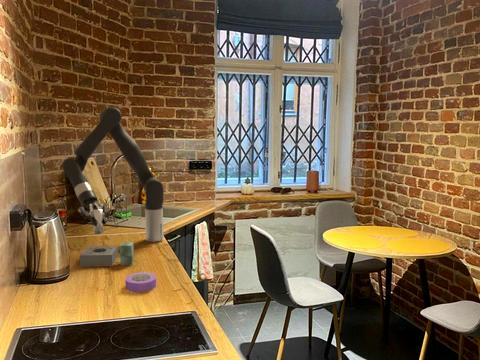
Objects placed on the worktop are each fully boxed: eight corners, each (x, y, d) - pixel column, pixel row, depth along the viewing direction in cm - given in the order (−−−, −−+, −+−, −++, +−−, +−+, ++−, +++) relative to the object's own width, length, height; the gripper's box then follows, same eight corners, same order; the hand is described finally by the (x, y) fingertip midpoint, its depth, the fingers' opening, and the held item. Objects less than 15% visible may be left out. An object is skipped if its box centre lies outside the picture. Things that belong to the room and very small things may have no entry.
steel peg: (104, 232, 200) (103, 208, 198) (102, 234, 196) (101, 210, 195) (95, 232, 200) (94, 208, 198) (92, 234, 196) (92, 210, 194)
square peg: (133, 261, 200) (133, 242, 198) (132, 265, 195) (131, 245, 193) (122, 261, 199) (122, 242, 198) (120, 265, 194) (119, 245, 193)
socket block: (118, 255, 207) (118, 245, 206) (112, 265, 193) (111, 254, 193) (88, 256, 206) (87, 246, 205) (80, 266, 192) (79, 255, 191)
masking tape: (161, 283, 174) (161, 274, 173) (146, 294, 163) (145, 284, 162) (136, 279, 177) (136, 270, 177) (119, 290, 167) (119, 280, 166)
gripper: (73, 191, 195) (88, 222, 189) (102, 187, 205) (117, 216, 199) (68, 201, 199) (83, 232, 193) (96, 197, 210) (111, 226, 203)
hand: (100, 224), depth 196 cm, fingers closed on steel peg, 4 cm apart
